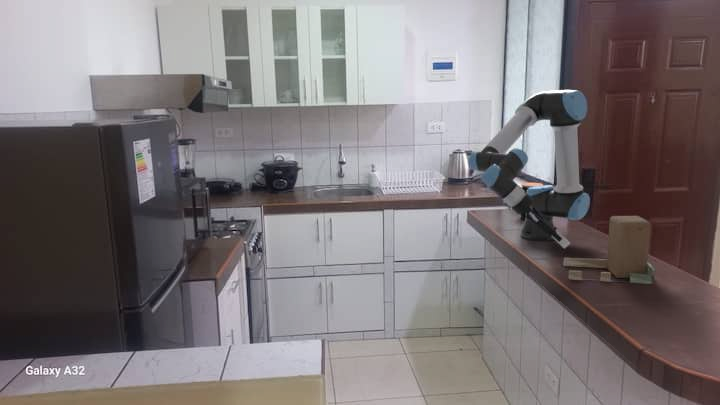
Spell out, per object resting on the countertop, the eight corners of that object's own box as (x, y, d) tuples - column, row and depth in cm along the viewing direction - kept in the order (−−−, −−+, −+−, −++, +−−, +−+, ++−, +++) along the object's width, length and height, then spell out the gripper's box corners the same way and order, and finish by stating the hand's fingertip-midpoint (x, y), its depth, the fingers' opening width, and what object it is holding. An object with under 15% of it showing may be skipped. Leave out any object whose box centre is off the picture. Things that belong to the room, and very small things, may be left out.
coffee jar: (545, 220, 248) (546, 185, 245) (524, 221, 249) (525, 186, 245) (538, 215, 259) (539, 182, 255) (517, 216, 259) (518, 183, 255)
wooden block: (647, 279, 165) (652, 222, 161) (616, 279, 166) (620, 222, 162) (635, 269, 175) (639, 215, 171) (605, 269, 176) (608, 215, 172)
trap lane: (563, 265, 182) (564, 252, 181) (641, 268, 175) (642, 255, 174) (568, 279, 168) (569, 265, 167) (653, 283, 160) (654, 269, 160)
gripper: (510, 203, 181) (556, 246, 180) (511, 211, 169) (561, 258, 168) (525, 189, 179) (572, 233, 178) (527, 196, 166) (578, 244, 166)
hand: (567, 245), depth 173 cm, fingers closed
